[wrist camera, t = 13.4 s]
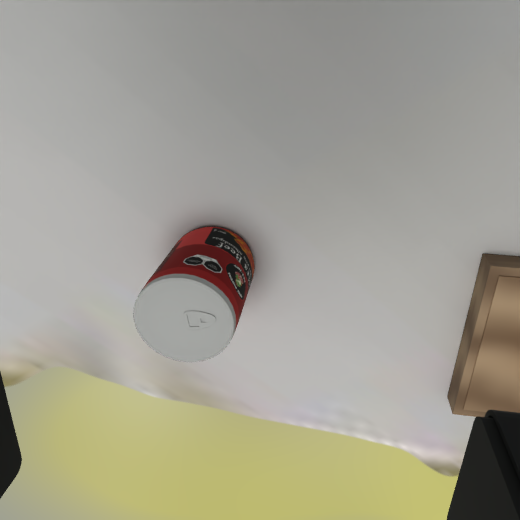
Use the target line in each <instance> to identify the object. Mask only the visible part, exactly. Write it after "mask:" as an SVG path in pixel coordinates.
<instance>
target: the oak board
mask: <svg viewBox="0 0 520 520" xmlns="http://www.w3.org/2000/svg"><path fill="white" fill-rule="evenodd" d="M447 397H448V400H449V403H450V407H451V410H452V413H453V414H457V415H466V416H475V417H478V416H480V417H484V416H485V414H486V412H487V411H488V410H499V411H508V412H517V413H520V257H519V256H506V255H494V254H483V255H482V259H481V263H480V267H479V271H478V275H477V279H476V283H475V287H474V291H473V295H472V299H471V303H470V307H469V311H468V315H467V319H466V323H465V327H464V331H463V335H462V340H461V344H460V348H459V352H458V356H457V360H456V364H455V368H454V372H453V376H452V380H451V384H450V388H449V392H448V396H447Z"/></svg>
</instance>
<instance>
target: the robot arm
mask: <svg viewBox="0 0 520 520" xmlns="http://www.w3.org/2000/svg"><path fill="white" fill-rule="evenodd" d="M21 461H22V458H21V452H20V448H19V445H18V441H17V437H16V433H15V429H14V425H13V421H12V417H11V413H10V409H9V405H8V401H7V397H6V393H5V389H4V385H3V381H2V377H1V373H0V498H1V496H2V495H3V494H4V492H5V491H6V490H7V488H8V487H9V486H10V484H11V483H12V481H13V480H14V478H15V477H16V475H17V474H18V472H19V469H20V466H21ZM447 520H520V413H517V412H508V411H499V410H488V411H487V412H486V414H485V416H484V417H480V416H478V417H476V418H475V420H474V423H473V427H472V430H471V434H470V437H469V441H468V445H467V448H466V452H465V455H464V459H463V462H462V466H461V469H460V473H459V476H458V480H457V483H456V487H455V490H454V494H453V498H452V501H451V505H450V508H449V512H448V516H447Z"/></svg>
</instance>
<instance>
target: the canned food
mask: <svg viewBox="0 0 520 520" xmlns="http://www.w3.org/2000/svg"><path fill="white" fill-rule="evenodd" d="M253 274H254V260H253V257H252V253H251V251H250V249H249V247H248V245H247V244H246V243H245V242H244V240H243V239H242V238H240V237H239V236H238V235H237V234H235V233H233V232H232V231H230V230H227V229H224V228H220V227H203V228H199V229H196V230H193V231H191V232H189V233H187V234H186V235H184V236H183V237H182V238H181V239H180V240H179V241H178V242H177V244H176V245H175V246H174V248H173V249H172V250H171V252H170V253H169V254H168V255H167V257H166V258H165V259H164V261H163V262H162V263H161V265H160V266H159V267H158V269H157V270H156V271H155V273H154V274H153V275H152V277H151V278H150V279H149V281H148V282H147V283H146V285H145V286H144V288H143V289H142V291H141V292H140V294H139V296H138V298H137V300H136V302H135V306H134V313H133V318H134V323H135V326H136V329H137V331H138V333H139V335H140V336H141V338H142V339H143V341H144V342H145V343H146V344H147V345H148V346H149V347H150V348H152V349H153V350H154V351H156V352H157V353H159V354H161V355H163V356H165V357H167V358H170V359H173V360H176V361H181V362H200V361H205V360H208V359H211V358H213V357H215V356H217V355H218V354H220V353H221V352H222V351H223V350H224V349H225V348H226V347H227V345H228V344H229V343H230V341H231V339H232V337H233V335H234V332H235V330H236V327H237V324H238V321H239V318H240V315H241V312H242V309H243V306H244V303H245V300H246V297H247V294H248V290H249V287H250V284H251V281H252V278H253Z"/></svg>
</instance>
